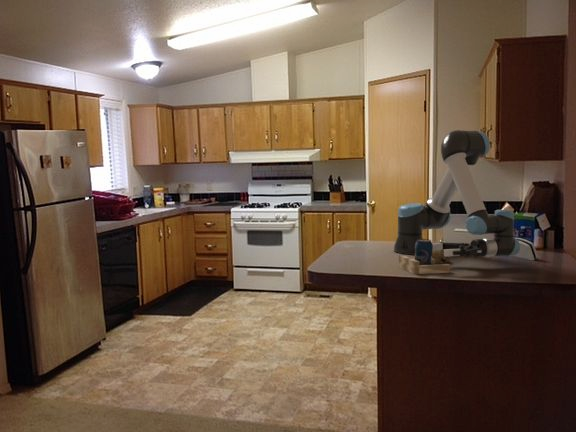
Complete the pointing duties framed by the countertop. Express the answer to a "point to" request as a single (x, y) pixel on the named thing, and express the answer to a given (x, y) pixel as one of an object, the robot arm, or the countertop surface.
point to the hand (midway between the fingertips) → (435, 250)
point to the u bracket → (421, 266)
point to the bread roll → (439, 256)
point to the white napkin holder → (526, 250)
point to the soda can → (423, 251)
